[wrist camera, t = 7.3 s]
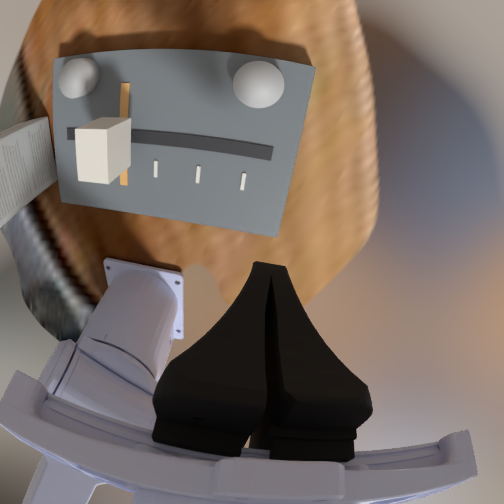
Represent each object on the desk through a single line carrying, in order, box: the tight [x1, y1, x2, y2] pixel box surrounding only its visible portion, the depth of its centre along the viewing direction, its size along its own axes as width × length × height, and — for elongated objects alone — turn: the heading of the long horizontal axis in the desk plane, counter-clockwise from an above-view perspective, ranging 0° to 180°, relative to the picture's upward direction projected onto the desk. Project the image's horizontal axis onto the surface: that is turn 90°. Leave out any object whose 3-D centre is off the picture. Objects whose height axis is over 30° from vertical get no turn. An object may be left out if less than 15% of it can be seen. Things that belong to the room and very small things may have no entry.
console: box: [53, 49, 316, 238], centre depth 18 cm, size 12×18×3 cm, turn 81°
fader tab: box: [75, 117, 131, 184], centre depth 16 cm, size 3×2×4 cm
